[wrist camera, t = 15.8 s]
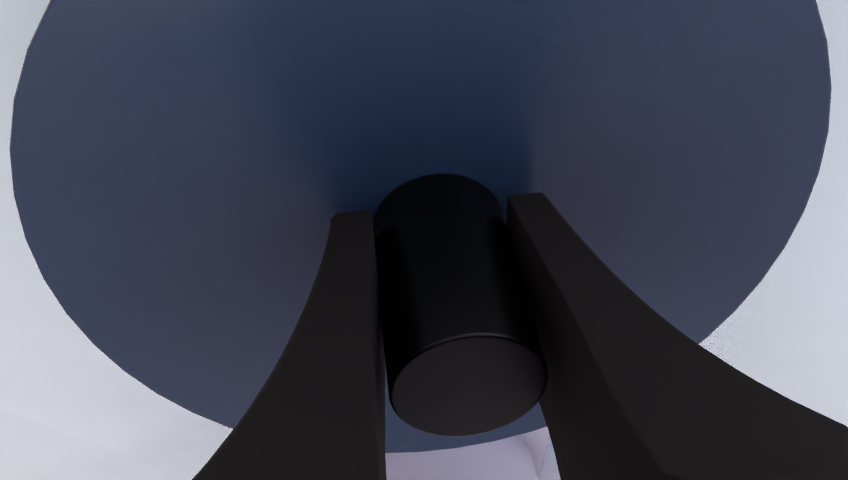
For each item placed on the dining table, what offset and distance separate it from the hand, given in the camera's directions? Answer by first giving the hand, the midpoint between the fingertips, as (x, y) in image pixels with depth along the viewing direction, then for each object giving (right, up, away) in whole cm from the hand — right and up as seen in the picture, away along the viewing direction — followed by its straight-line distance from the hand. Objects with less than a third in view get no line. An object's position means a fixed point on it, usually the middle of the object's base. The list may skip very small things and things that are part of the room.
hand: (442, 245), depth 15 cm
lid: (0, +1, +1) cm, 1 cm away
